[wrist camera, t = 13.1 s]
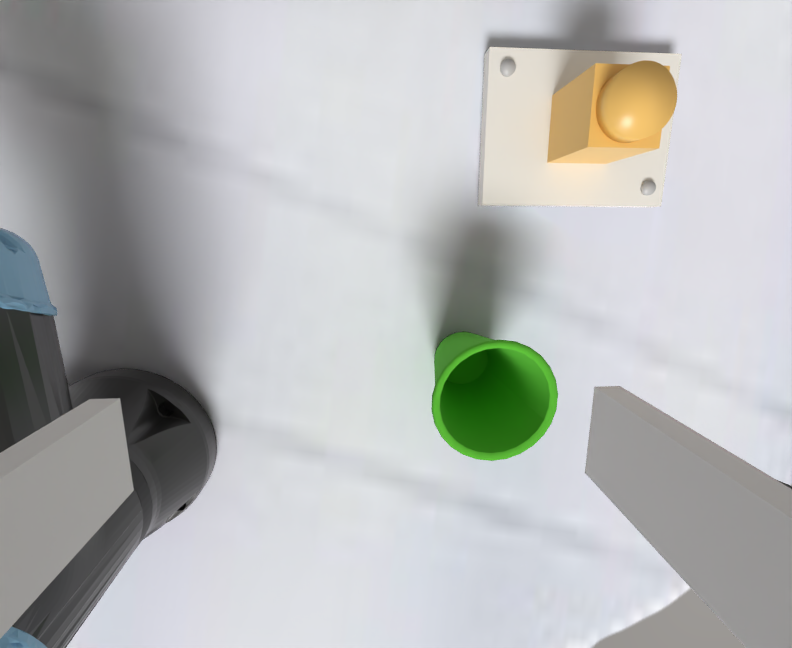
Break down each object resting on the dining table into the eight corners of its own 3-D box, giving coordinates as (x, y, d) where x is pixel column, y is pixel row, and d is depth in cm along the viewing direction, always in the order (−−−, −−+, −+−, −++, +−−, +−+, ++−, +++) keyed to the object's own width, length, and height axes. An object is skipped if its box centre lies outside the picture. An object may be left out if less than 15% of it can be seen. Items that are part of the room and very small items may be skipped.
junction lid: (477, 205, 37) (497, 201, 31) (484, 54, 34) (506, 21, 29) (649, 207, 38) (696, 202, 32) (668, 61, 35) (723, 30, 30)
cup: (436, 296, 38) (463, 321, 27) (522, 331, 39) (581, 367, 29) (399, 383, 40) (412, 438, 29) (483, 413, 41) (525, 477, 30)
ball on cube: (547, 162, 35) (599, 142, 27) (552, 95, 34) (608, 53, 26) (606, 163, 35) (674, 143, 27) (613, 97, 34) (687, 56, 26)
